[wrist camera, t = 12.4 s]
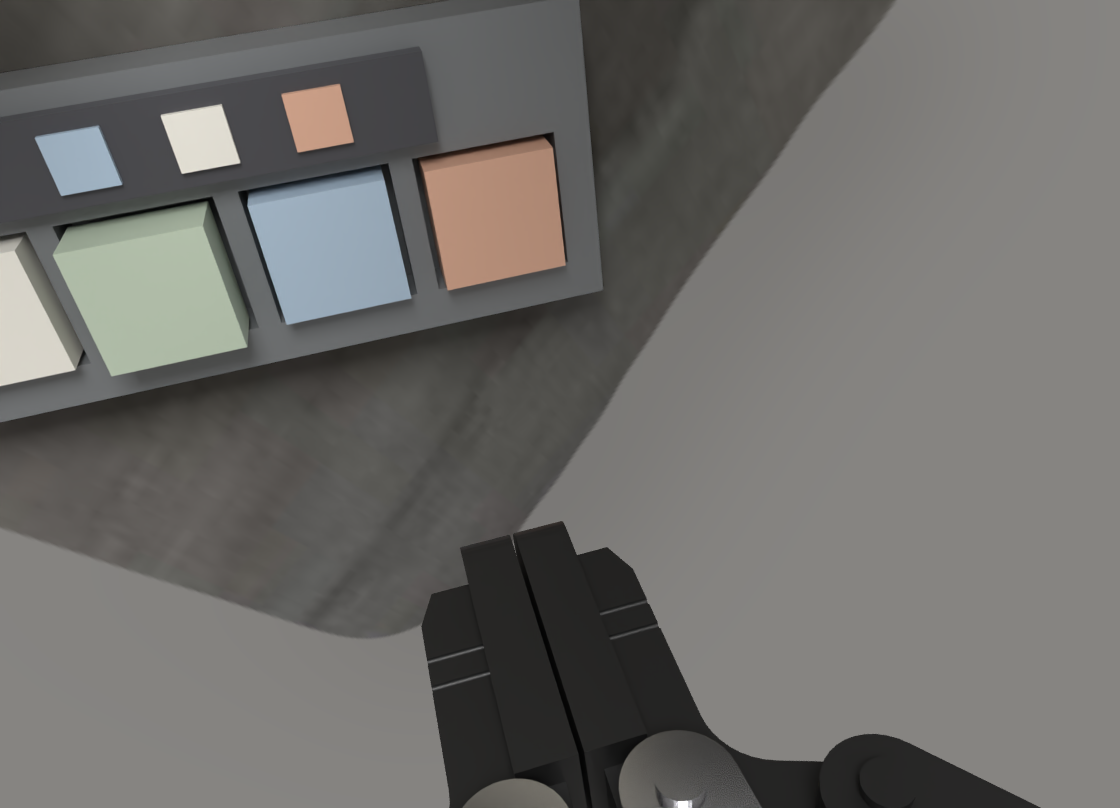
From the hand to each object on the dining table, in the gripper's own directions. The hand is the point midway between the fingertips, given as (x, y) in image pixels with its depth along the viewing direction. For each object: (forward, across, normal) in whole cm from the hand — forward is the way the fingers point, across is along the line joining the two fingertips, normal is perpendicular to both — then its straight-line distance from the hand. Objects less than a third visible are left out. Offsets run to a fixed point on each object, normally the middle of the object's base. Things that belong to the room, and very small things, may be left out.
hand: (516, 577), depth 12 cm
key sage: (+25, +9, +5) cm, 27 cm away
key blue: (+26, +3, +4) cm, 26 cm away
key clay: (+26, -4, +5) cm, 26 cm away
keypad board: (+27, +6, +3) cm, 28 cm away
